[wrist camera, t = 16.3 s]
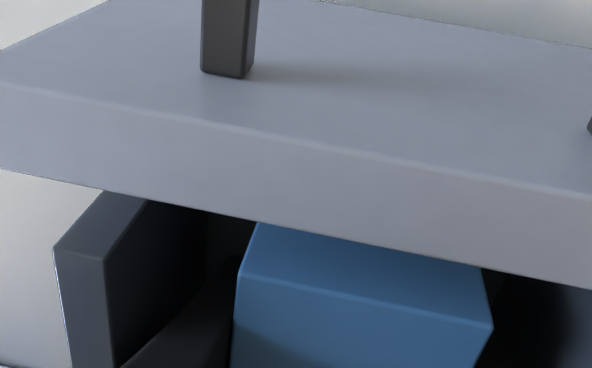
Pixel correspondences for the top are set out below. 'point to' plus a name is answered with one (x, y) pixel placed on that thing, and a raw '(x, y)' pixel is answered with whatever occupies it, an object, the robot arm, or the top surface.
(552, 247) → the grey drawer
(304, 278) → the block
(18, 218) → the top surface
